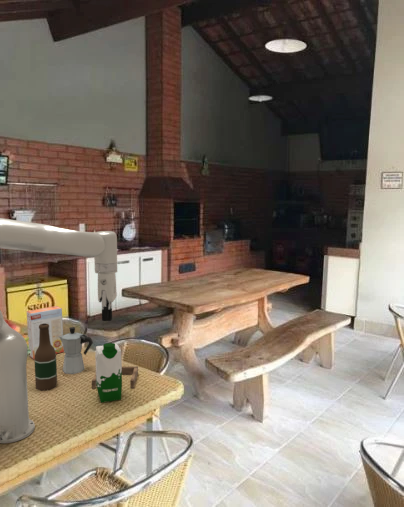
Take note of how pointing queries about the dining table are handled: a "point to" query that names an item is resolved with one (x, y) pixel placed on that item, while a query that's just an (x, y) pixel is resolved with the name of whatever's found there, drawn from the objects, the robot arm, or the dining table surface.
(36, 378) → the beer bottle
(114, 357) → the soya milk
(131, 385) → the frame
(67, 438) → the dining table surface
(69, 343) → the coffee maker
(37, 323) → the cracker box
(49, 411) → the dining table surface
